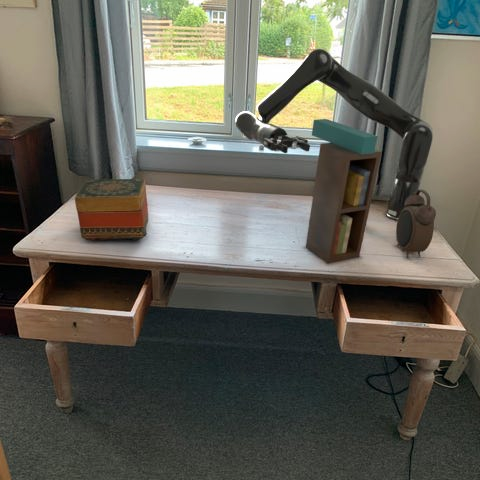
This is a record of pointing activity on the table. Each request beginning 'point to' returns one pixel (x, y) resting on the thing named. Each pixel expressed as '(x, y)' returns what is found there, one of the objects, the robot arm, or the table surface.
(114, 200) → the decorative box
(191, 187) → the table surface
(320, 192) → the bookcase
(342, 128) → the pencil box
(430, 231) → the alarm clock
